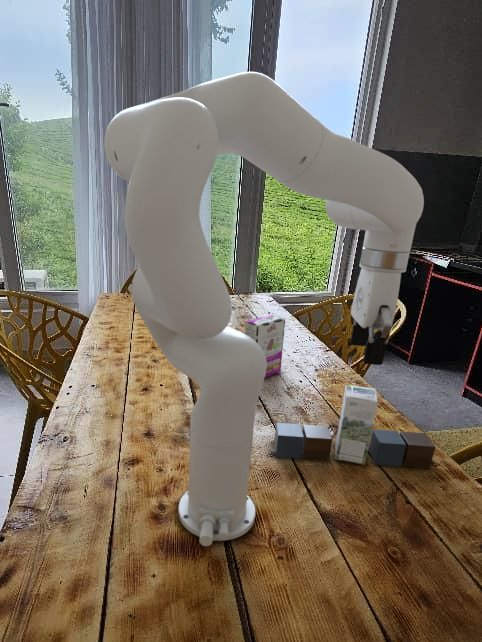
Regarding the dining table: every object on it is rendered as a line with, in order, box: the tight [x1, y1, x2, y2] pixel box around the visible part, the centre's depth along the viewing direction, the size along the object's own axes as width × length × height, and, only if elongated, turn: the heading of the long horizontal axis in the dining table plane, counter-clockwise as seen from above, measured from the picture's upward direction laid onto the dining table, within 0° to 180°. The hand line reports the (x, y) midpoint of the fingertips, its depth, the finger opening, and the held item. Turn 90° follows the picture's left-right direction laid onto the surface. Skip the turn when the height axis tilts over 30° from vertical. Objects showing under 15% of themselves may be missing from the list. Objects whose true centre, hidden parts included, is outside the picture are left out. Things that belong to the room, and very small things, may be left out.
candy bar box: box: [244, 314, 286, 379], centre depth 123 cm, size 11×5×16 cm, turn 129°
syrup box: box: [334, 384, 379, 466], centre depth 87 cm, size 6×6×14 cm
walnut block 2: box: [399, 431, 436, 469], centre depth 88 cm, size 5×5×5 cm
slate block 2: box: [368, 428, 406, 467], centre depth 89 cm, size 5×5×5 cm
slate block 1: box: [273, 422, 304, 459], centre depth 90 cm, size 5×5×5 cm
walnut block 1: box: [301, 424, 333, 462], centre depth 89 cm, size 5×5×5 cm
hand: (365, 354), depth 82 cm, fingers open, 9 cm apart
